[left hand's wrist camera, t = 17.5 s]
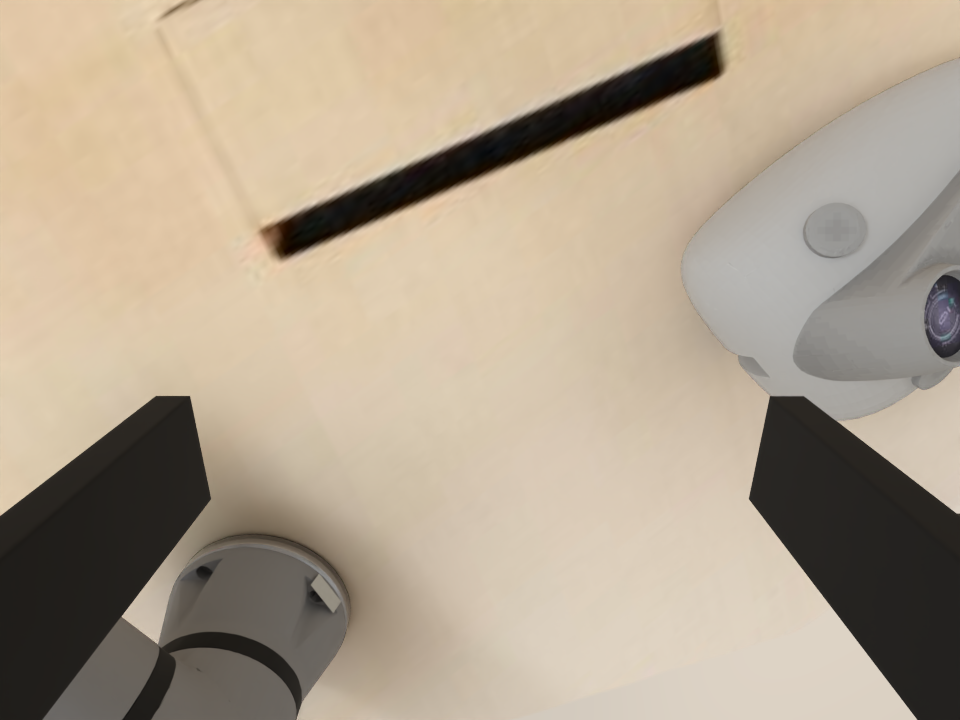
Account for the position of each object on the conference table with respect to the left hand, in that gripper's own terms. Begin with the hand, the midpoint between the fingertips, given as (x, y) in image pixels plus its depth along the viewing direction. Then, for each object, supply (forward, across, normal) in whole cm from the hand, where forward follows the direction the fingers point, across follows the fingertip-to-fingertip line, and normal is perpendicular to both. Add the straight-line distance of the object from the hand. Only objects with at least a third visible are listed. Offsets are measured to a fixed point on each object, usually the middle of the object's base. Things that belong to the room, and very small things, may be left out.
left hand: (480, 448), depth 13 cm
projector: (+28, -25, -2) cm, 37 cm away
